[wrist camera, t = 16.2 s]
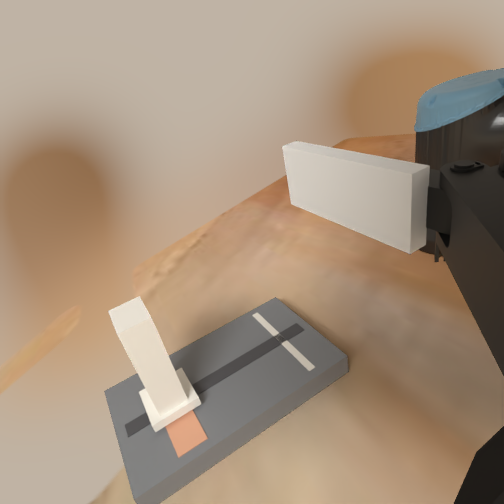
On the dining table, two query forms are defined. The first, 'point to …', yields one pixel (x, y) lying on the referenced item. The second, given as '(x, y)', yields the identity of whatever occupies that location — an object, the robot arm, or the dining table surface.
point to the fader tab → (153, 365)
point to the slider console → (223, 397)
